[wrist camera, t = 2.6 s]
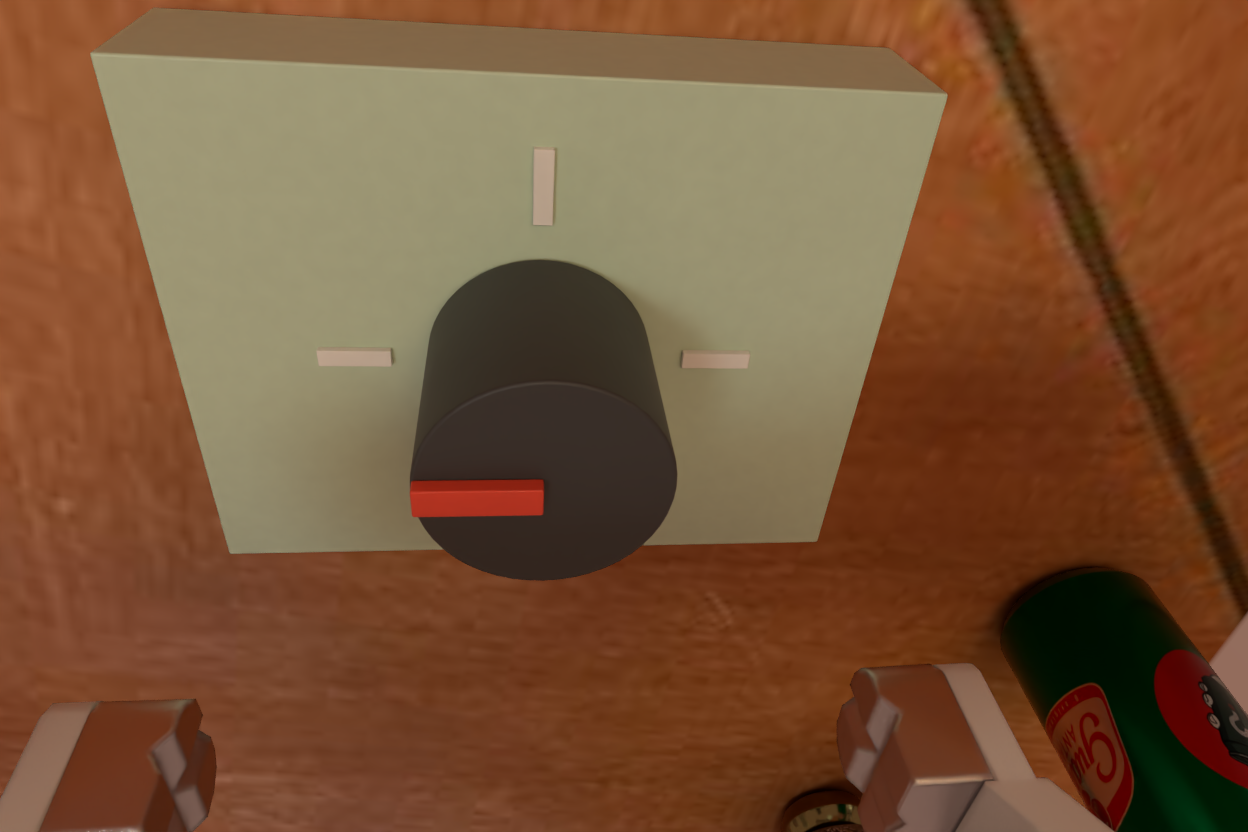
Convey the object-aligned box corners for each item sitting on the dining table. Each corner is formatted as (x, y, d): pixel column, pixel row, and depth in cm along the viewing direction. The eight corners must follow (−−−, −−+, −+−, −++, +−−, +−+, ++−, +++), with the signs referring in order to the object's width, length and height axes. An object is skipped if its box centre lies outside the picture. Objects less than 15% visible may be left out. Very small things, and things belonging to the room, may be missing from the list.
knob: (658, 261, 16) (697, 393, 13) (639, 441, 19) (666, 591, 16) (421, 255, 16) (395, 393, 13) (434, 443, 19) (417, 598, 15)
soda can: (992, 580, 28) (1237, 1004, 19) (1150, 540, 28) (1484, 953, 18) (992, 670, 31) (1202, 1073, 22) (1134, 635, 31) (1412, 1031, 21)
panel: (890, 46, 18) (953, 96, 15) (787, 464, 24) (819, 547, 22) (152, 6, 16) (83, 54, 13) (259, 469, 22) (227, 559, 20)
